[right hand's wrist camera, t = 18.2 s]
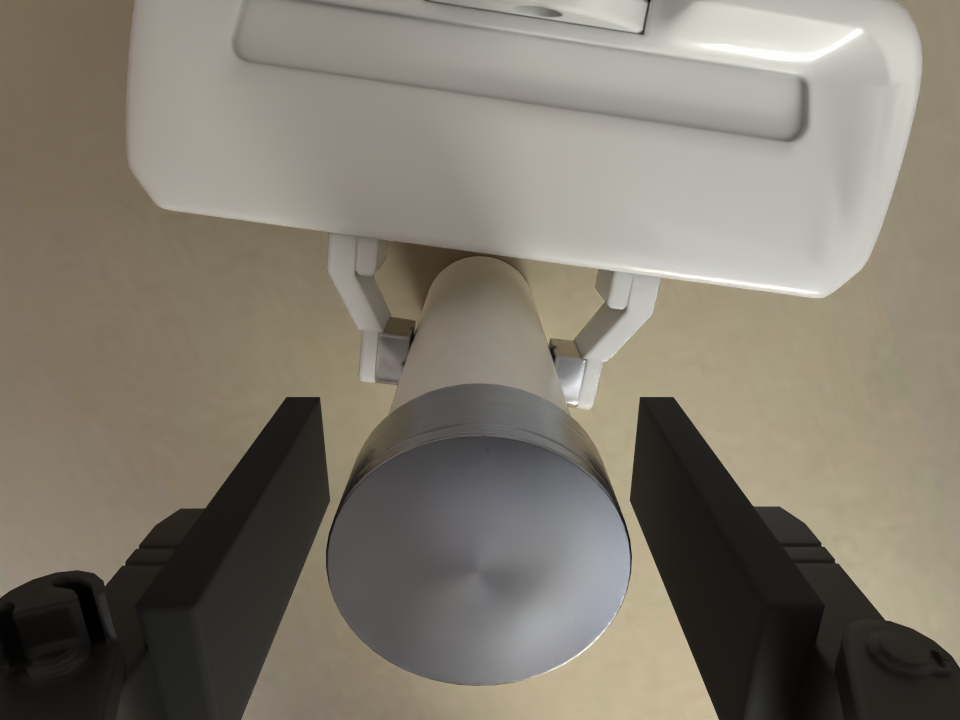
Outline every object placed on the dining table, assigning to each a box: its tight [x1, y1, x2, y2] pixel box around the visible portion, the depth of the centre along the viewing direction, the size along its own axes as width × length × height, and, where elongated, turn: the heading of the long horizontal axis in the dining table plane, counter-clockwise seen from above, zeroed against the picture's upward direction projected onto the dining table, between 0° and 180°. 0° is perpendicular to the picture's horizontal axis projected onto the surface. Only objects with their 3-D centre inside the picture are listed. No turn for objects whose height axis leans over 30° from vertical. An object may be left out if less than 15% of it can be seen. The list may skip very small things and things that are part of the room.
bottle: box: [389, 256, 570, 415], centre depth 18 cm, size 4×4×16 cm
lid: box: [326, 383, 632, 686], centre depth 11 cm, size 5×5×2 cm
